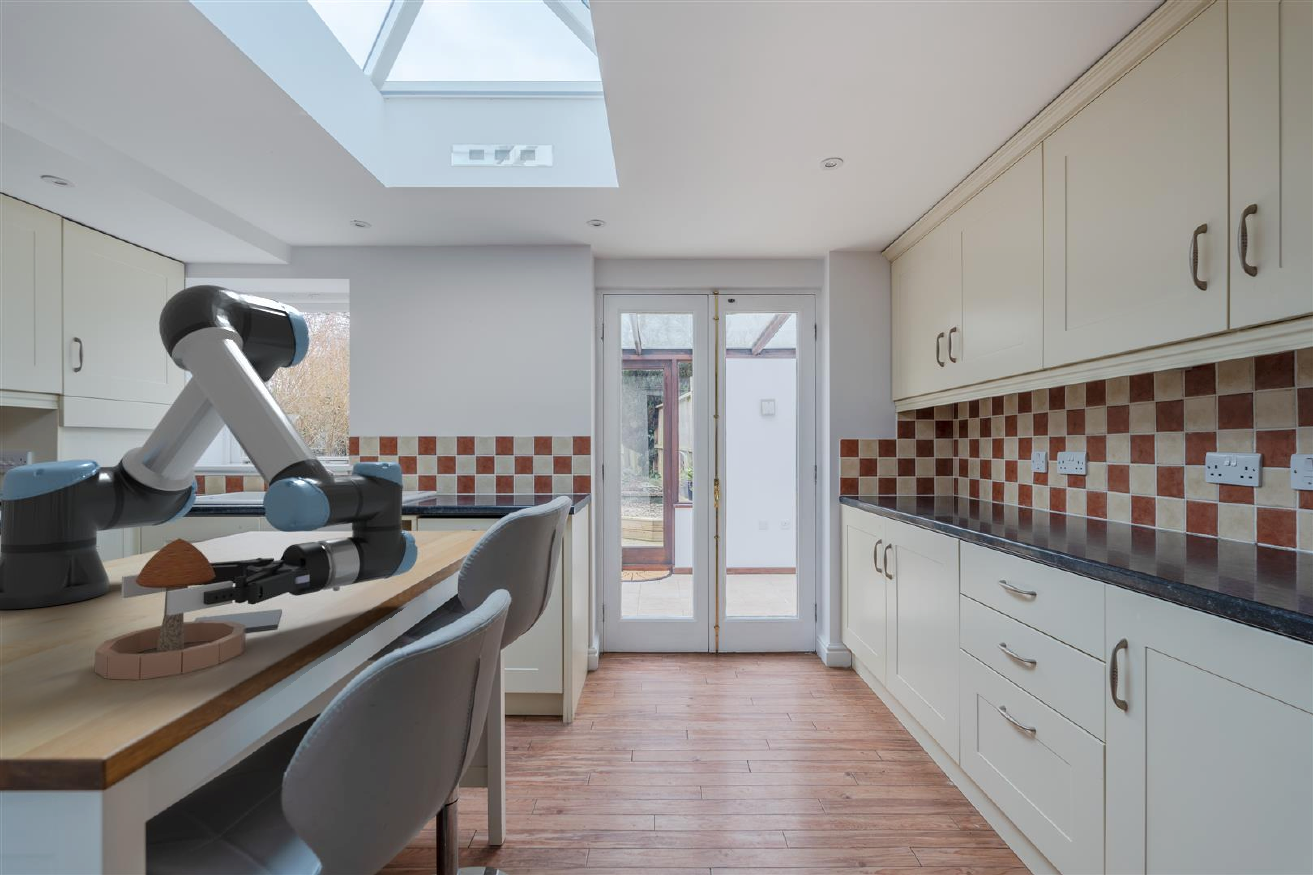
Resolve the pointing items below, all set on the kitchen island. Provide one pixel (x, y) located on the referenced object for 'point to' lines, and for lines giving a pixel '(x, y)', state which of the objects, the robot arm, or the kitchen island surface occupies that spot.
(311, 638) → the kitchen island surface
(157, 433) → the robot arm
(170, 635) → the mushroom
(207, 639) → the ring
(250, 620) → the mat
